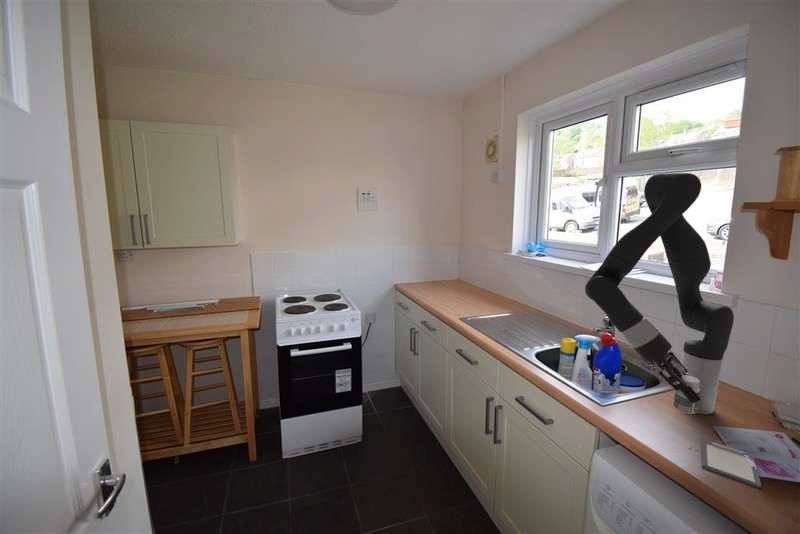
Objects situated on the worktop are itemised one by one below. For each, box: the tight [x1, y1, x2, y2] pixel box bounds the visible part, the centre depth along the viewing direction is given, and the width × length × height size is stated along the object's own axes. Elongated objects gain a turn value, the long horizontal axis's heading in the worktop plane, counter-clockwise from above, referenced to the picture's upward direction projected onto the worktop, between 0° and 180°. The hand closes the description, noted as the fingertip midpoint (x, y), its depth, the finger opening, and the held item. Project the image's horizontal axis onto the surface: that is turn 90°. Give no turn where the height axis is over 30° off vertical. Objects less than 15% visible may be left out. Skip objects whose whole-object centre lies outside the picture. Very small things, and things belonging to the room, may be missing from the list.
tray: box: [700, 440, 762, 489], centre depth 86 cm, size 12×10×1 cm
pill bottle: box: [673, 375, 700, 415], centre depth 90 cm, size 5×5×8 cm
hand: (696, 396), depth 89 cm, fingers closed on pill bottle, 4 cm apart
